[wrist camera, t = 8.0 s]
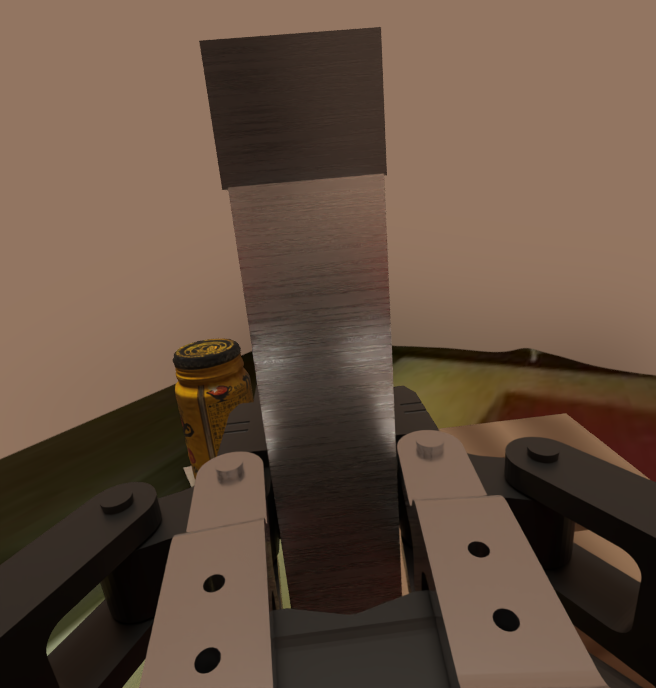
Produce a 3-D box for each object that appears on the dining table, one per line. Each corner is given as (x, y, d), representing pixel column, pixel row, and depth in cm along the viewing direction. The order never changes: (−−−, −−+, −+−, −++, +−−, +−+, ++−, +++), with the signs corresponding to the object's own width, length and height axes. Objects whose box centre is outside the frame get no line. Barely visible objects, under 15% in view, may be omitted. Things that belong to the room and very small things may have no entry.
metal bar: (320, 874, 11) (177, 6, 5) (313, 686, 15) (230, 91, 9) (424, 857, 11) (399, -10, 5) (388, 676, 15) (352, 82, 9)
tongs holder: (416, 723, 19) (413, 641, 18) (363, 494, 35) (358, 438, 33) (762, 672, 20) (788, 588, 19) (560, 469, 35) (565, 413, 34)
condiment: (183, 469, 40) (155, 346, 37) (269, 439, 44) (251, 324, 40) (203, 514, 34) (172, 371, 30) (301, 475, 38) (284, 343, 34)
